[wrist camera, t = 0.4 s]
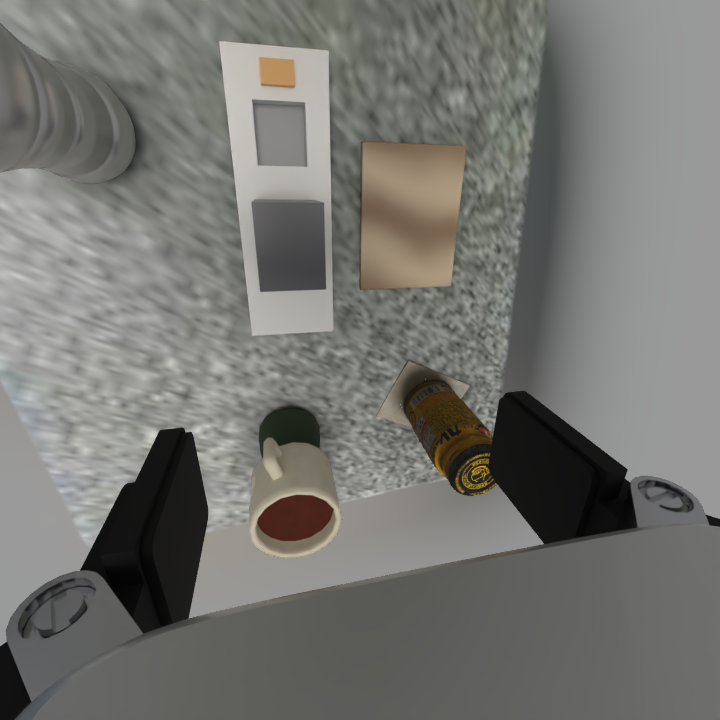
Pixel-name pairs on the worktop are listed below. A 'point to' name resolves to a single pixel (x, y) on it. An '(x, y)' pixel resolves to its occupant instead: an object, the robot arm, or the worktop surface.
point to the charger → (290, 244)
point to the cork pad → (409, 214)
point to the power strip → (280, 164)
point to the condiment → (443, 426)
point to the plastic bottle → (59, 118)
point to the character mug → (292, 488)
